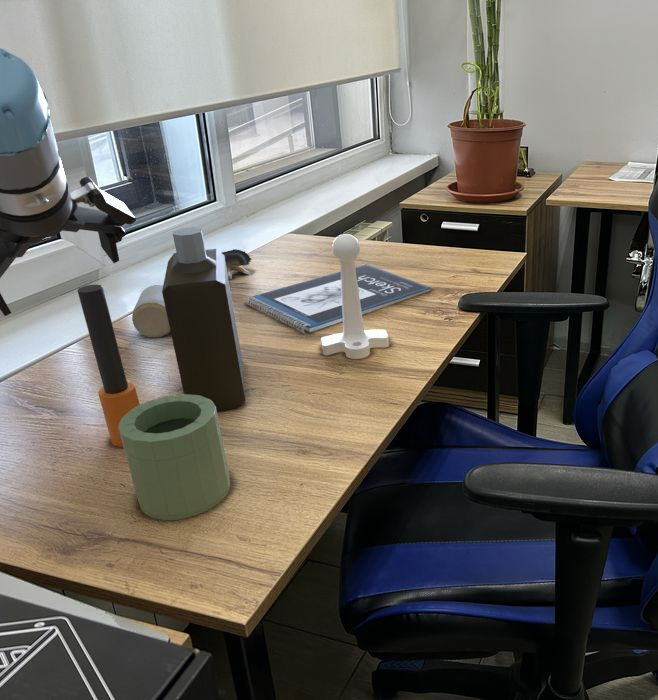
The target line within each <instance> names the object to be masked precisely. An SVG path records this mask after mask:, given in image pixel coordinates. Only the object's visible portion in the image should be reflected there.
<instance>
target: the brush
mask: <svg viewBox="0 0 658 700" xmlns="http://www.w3.org/2000/svg"><path fill="white" fill-rule="evenodd" d="M77 295H78V298H79V302H80V305H81V309H82V312H83V317H84V320H85V324H86V328H87V331H88V336H89V338H90V342H91V345H92V346H91V347H92V349H93V353H94V357H95V361H96V364H97V368H98V371H99V375H100V378H101V383H102V387H101V388H99V390H98V392H97V395H98V397H99V401H100V405H101V409H102V413H103V415H104V420H105V423H106V428H107V431H108V434H109V438H110V441H111V444H112V445H113V446H115V447H118V448H124V447H123V443H122V440H121V436H120V432H119V429H118V426H119V424H120V421H121V419H122V417H123V416H125V415H126V414H127V413H128V412H129V411H131V410H132V409H133V408H135V407H137V406H139V405H141V404H140V400H139V397H138V392H137V388H136V384H135V383H134V382H132V381H129V380H127V377H126V373H125V370H124V369H125V368H124V364H123V360H122V357H121V353H120V349H119V345H118V341H117V337H116V333H115V329H114V325H113V322H112V321H113V320H112V318H111V317H112V316H111V313H110V310H109V306H108V302H107V297H106V293H105V290H104V287H103V285H101V284H87V285H83V286H81V287H79V288H78V289H77Z"/></svg>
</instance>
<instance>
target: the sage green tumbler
mask: <svg viewBox="0 0 658 700" xmlns="http://www.w3.org/2000/svg"><path fill="white" fill-rule="evenodd" d="M218 415H219V414H218V412H217V410H216V406H215V405H214V403H213V402H212V401H211V400H210V399H208V398H205V397H202V396H200V395H188V394H184V393H183V394H181V393H180V394H172V395H166V396H161V397H158V398H154V399H151V400H148V401H145V402H143V403H141V404H140V405H139V406H137V407H135V408H133V409H132V410H131V411H129V412H128V413H127V414H126V415H125V416H123V417H122V419H121V421H120V424H119V426H118V429H119V432H120V436H121V440H122V443H123V447H122V448H123V451H124V454H125V458H126V461H127V465H128V470H129V473H130V477H131V480H132V484H133V488H134V492H135V495H136V499H137V502H138V503H139V507H140V510H141V511H142V512H143V513H144V515H146V516H148V517H150V518H153V519H157V520H162V521H164V520H165V521H175V520H183V519H188V518H192V517H195V516H197V515H200V514H203V513H204V512H205V513H206V512H207V511H209V510H211V509H212V508H214V507H216V506H217V505H218V504H220V502H221V501H223V500H224V498H225V497H226V496H227V494H228V493H229V491H230V487H231V482H230V479H231V476H230V471H229V465H228V461H227V457H226V451H225V446H224V440H223V436H222V430H221V426H220V421H219V416H218Z"/></svg>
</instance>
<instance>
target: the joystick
mask: <svg viewBox="0 0 658 700" xmlns="http://www.w3.org/2000/svg"><path fill="white" fill-rule="evenodd" d="M331 244H332V246H331V251H332V254H333V256H334V257H335V258H336V259H337V261H338V262H339V264H340V272H341V289H342V314H343V322H342V332H338V333H333V334H330V335H325V336H321V338H320V344H321V345H320V346H321V350H322V355H323V356H331V355H333V354H337V353H345V356H346V358H348V359H351V360H360V359H364V358H367V357H368V356H370V354H371V349H373V348H384V349H385V348H389V347H390V340H389V339H390V337H389V334H388V332H387V330H386V329H384V328H382V329H381V328H380V329H377V328H374V329H365V326H364V318H363V315H362V312H361V305H360V298H359V291H358V284H357V277H356V270H355V267H356V264H355V263H356V261H357V260H356V259H357V258H358V256H359V255H360V252H361V245H360V242H359V240H358V239H357V238H356V237H355V236H354V235H352V234H349V233H344V234H340V235H338V236H337V237H335V238H334V240H333V241H332V243H331Z"/></svg>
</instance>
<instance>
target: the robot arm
mask: <svg viewBox="0 0 658 700" xmlns="http://www.w3.org/2000/svg"><path fill="white" fill-rule="evenodd" d="M54 132H55V131H54V128H53V125H52V120H51V111H50V108H49V101H48V99H47V95H46V94H45V92H44V91H43V89H42V88H41V86H40V83H39V80H38V78H37V75H36V73H35V72H34V70H33V69H32V68H31V66H29V64H27V62H26V61H25V60H23V59H22V58H21V57H18V56H17V55H15V54H13V53H10V52H9V51H7V50H6V49H5V48H1V47H0V279H1V278H2V277H3V275H4V274H5V273H6V272H7V270H8V269H9V268H10V266H11V265H12V264H13V263H14V261H15V260H16V259H17V258H23V257H24V255H25V254H26V253H27V251H28V250H29V249H30V248H31V246H33V245H36V244H38V243H40V242H41V241H43V240H45V239H47V238H51V237H53V236H56V235H58V234H60V233H61V232H62V231H64V232H71V233H72V232H73V233H78V232H79V231H89V232H97V235H98V238H99V242H100V243H99V244H100V247H101V248H102V250H103V251H104V252H105V254H106V255H107V257H108V258H109V259H110V260H111V262H112V263H113V264H116V263H118V262H120V257H119V252H118V246H117V244H118V243H120V242H122V240H123V238H125V237H126V235H127V232H126V230H125V229H124V228H123V226H124V225H133V224H134V223H136V221H137V218H136V217H135V215H134V214H133V212H132V211H131V210H130V209H129V208H128V206H127V205H126V204H125V203H124V201H121V200H119V199H118V198H116V197H115V196H113V195H111V194H109V193H107V192H106V191H104V190H103V189H101V188H99V187H98V186H97V185H96V184H95V182H94V181H93V180H92V179H91V177H90V176H85V177H82V178H81V179H80V180H79V185H80V186H79V187H78V188H77V189H75V190H72V191H70V188H69V184H68V181H67V178H66V175H65V171H64V170H65V169H64V168H63V164H62V160H61V159H62V158H61V156H60V151H59V148H58V144H57V140H56V136H55V133H54ZM80 203H83V204H85V205H88V206H89V207H90V208H88V207H84V206H79V204H80ZM94 207H96V209H95V208H94ZM0 312H1V313H2V314H3V316H4V317H7V316H8V315H10V314H12V311H11V309H10V308H9V306H8V304H7V303H6V301H5V299H4V297H3V295H2V294H1V292H0Z"/></svg>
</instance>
